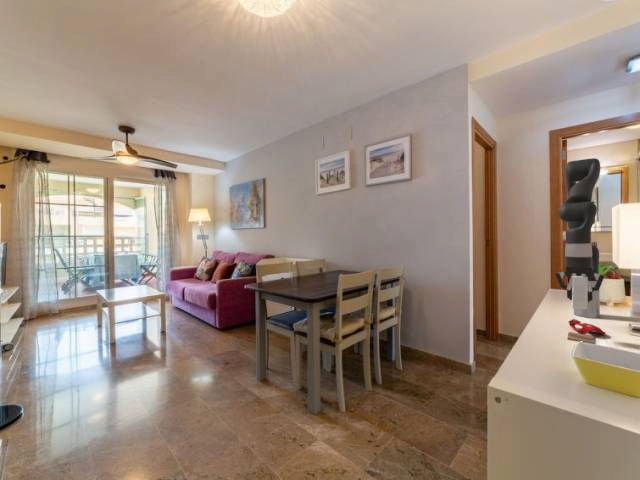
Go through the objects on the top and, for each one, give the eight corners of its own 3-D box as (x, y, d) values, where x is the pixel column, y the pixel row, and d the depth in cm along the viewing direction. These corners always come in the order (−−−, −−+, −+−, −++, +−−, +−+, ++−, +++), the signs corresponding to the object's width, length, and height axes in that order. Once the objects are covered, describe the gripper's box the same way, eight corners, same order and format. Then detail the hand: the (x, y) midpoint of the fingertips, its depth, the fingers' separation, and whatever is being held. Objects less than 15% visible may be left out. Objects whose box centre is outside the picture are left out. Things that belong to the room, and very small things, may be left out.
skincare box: (571, 305, 110) (570, 274, 110) (587, 306, 107) (586, 274, 107) (572, 308, 105) (571, 276, 105) (588, 310, 102) (587, 277, 102)
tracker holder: (609, 331, 110) (603, 328, 105) (605, 341, 110) (598, 339, 105) (570, 317, 120) (563, 314, 115) (566, 326, 120) (559, 324, 115)
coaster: (568, 333, 112) (568, 331, 112) (593, 337, 107) (593, 335, 107) (567, 339, 105) (567, 337, 105) (593, 344, 101) (593, 342, 101)
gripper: (604, 255, 104) (605, 301, 104) (554, 254, 114) (555, 296, 114) (605, 256, 99) (606, 305, 99) (553, 255, 108) (554, 299, 108)
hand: (579, 300), depth 106 cm, fingers closed on skincare box, 4 cm apart
